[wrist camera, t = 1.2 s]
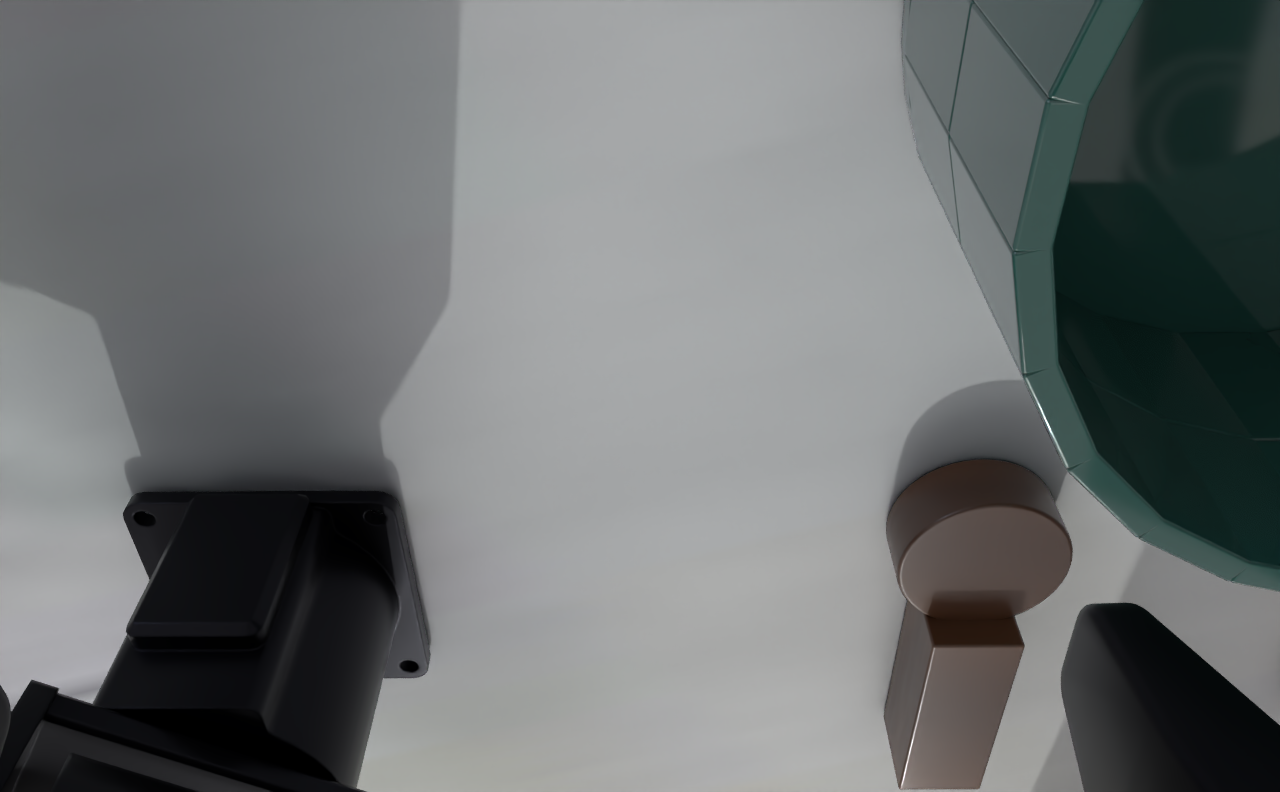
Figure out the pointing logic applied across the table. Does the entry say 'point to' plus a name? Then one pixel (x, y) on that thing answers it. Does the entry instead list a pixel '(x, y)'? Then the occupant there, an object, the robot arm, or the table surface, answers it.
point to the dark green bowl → (1125, 243)
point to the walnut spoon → (965, 611)
